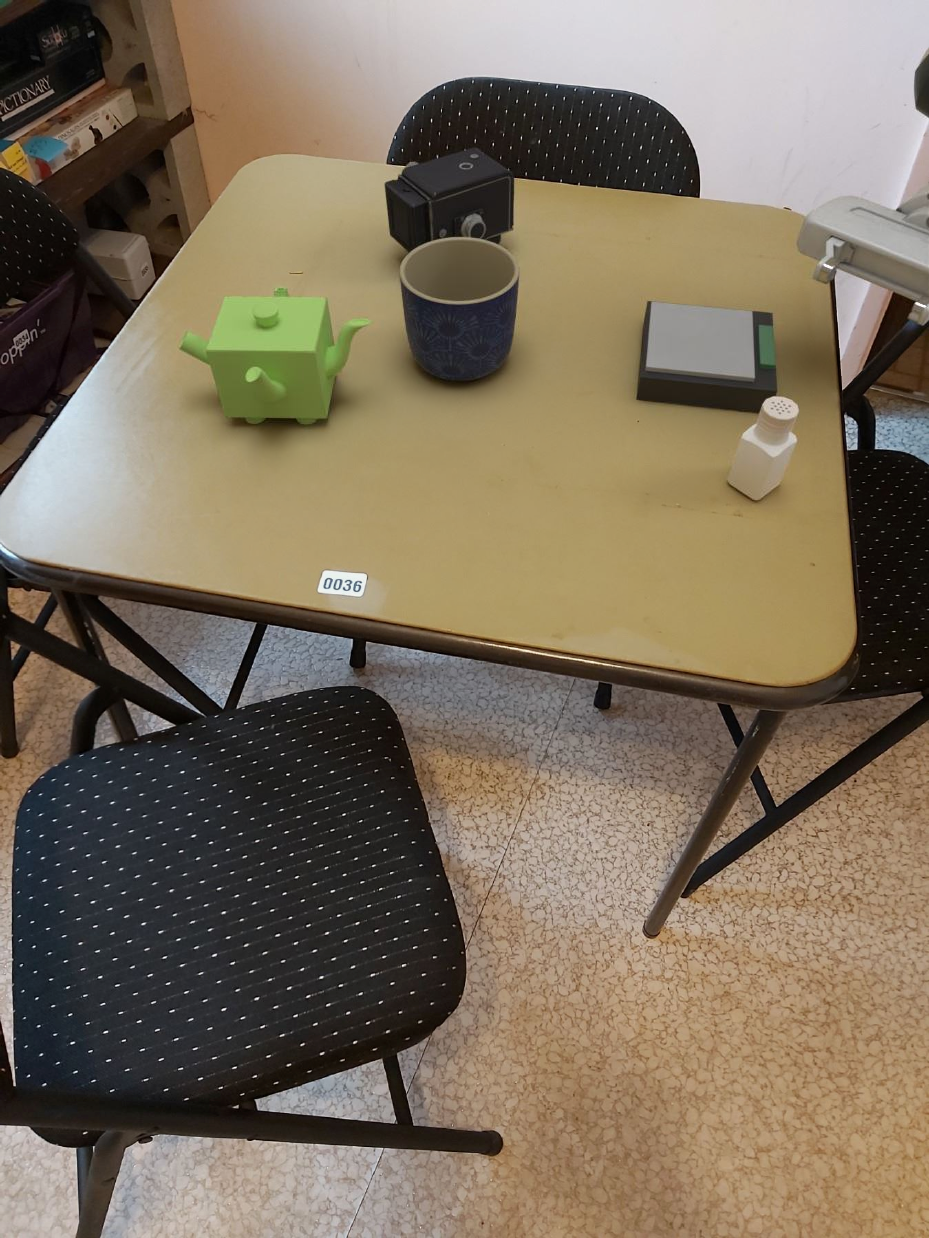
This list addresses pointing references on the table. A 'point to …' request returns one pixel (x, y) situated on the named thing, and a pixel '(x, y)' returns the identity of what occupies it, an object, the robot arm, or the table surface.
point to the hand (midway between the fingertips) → (868, 294)
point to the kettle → (274, 356)
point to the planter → (459, 306)
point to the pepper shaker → (765, 449)
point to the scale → (707, 357)
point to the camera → (451, 200)
